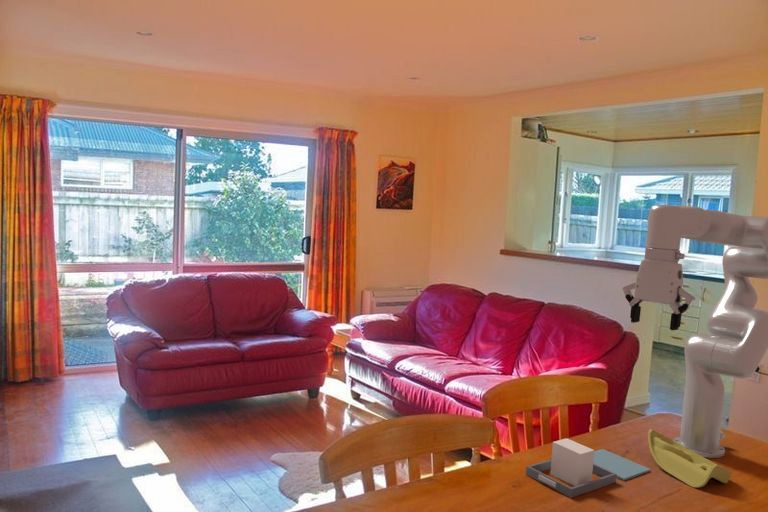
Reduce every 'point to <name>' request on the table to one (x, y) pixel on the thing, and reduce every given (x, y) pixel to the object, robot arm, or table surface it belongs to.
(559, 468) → the block
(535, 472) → the grey rectangular frame
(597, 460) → the mat
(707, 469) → the plastic component
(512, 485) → the table surface
